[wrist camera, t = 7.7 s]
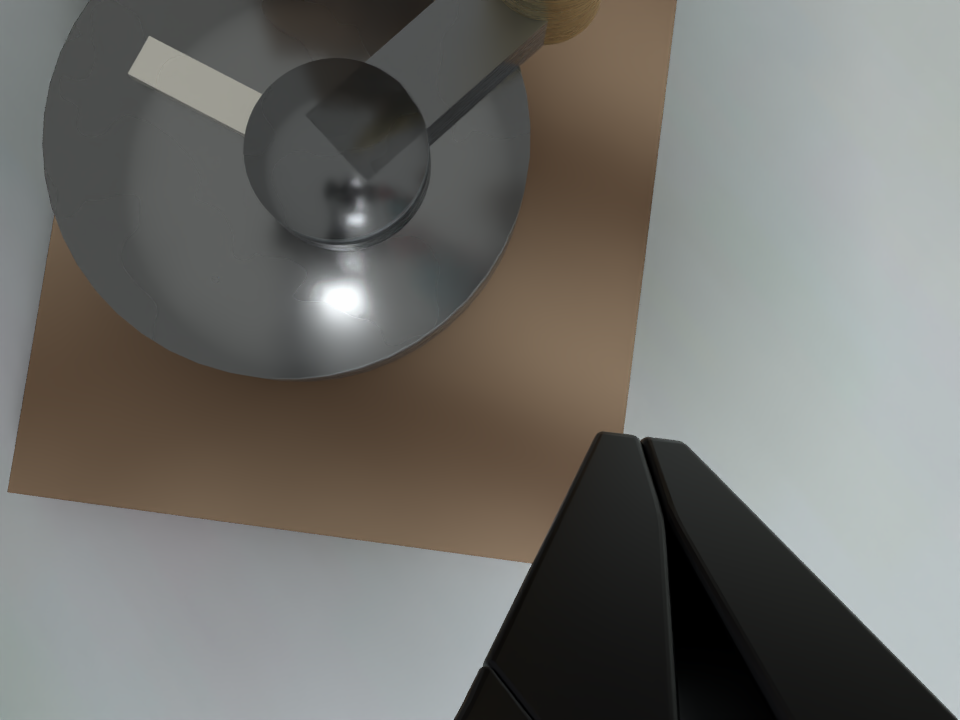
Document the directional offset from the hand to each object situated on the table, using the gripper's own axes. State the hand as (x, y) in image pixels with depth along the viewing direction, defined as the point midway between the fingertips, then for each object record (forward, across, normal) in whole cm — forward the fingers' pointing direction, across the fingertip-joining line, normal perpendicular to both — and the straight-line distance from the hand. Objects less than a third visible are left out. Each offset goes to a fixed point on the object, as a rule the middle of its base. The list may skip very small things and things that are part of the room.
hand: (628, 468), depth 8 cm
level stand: (+12, -4, -3) cm, 13 cm away
